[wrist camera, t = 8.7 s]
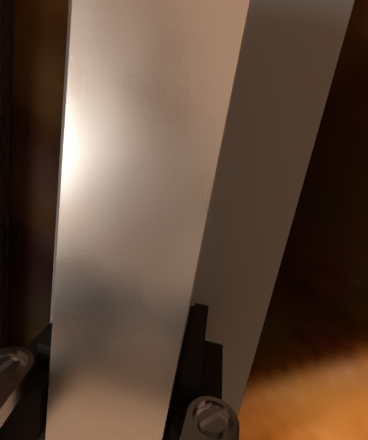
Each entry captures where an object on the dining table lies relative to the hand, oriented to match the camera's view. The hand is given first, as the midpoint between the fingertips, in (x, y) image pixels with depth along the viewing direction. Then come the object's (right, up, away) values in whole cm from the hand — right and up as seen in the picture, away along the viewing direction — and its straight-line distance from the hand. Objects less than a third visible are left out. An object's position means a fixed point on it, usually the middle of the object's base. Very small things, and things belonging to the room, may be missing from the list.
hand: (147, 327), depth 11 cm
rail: (0, 0, -1) cm, 1 cm away
